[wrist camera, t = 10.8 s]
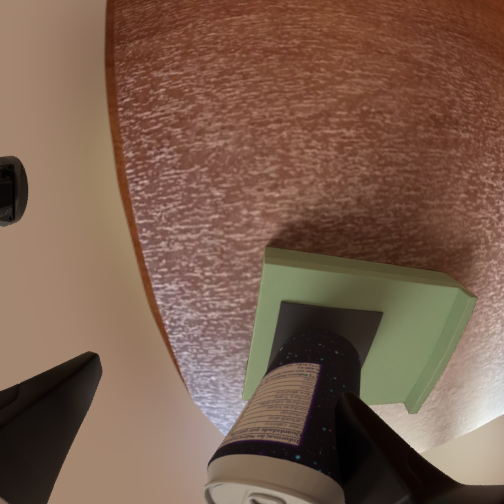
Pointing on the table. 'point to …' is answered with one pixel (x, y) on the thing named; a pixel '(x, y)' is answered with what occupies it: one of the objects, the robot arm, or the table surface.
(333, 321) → the shelf
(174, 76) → the table surface
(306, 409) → the beverage can
